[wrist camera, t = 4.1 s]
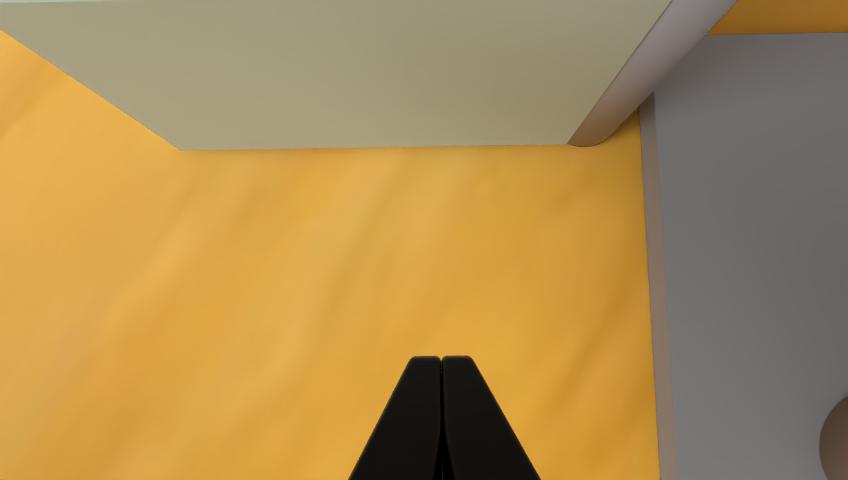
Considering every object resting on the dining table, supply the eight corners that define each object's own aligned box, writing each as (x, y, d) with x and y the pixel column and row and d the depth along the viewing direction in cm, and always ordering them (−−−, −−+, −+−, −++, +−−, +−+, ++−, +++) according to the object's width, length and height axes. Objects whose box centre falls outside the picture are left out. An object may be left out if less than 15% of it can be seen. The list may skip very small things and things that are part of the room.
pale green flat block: (619, 71, 22) (774, -142, 12) (623, 146, 21) (787, -9, 11) (183, 79, 22) (-27, -123, 12) (180, 153, 21) (-38, 9, 12)
